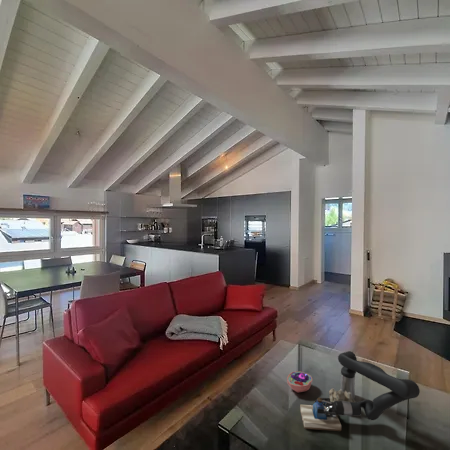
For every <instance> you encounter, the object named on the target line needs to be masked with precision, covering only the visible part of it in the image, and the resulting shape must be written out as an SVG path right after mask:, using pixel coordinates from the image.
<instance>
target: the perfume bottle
mask: <svg viewBox="0 0 450 450" xmlns="http://www.w3.org/2000/svg"><path fill="white" fill-rule="evenodd" d="M321 398H322V397H317V398H316V400H317V402H315V401H314V403H313V404H312V405H313V414H314V416H315V419H324V420H326V415H325V414H322V413H318V412H317V409H325V408H324V405H323V404H322V399H321Z"/></svg>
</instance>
